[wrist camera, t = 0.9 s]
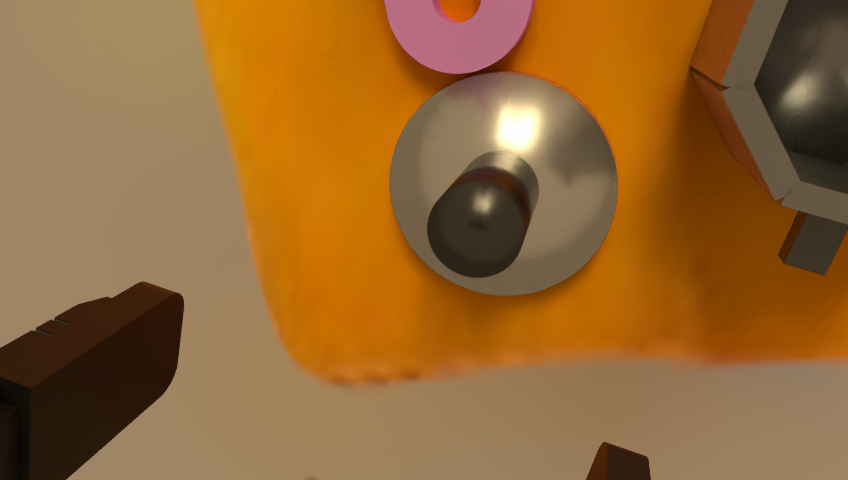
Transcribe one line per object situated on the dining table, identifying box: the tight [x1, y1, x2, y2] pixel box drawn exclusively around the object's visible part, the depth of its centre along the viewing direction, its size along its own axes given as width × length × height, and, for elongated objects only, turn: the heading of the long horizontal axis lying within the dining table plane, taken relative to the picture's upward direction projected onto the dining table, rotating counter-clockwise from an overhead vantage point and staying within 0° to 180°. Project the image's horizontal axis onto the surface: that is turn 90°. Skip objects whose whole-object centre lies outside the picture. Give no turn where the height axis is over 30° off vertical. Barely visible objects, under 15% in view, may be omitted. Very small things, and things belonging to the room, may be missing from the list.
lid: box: [390, 71, 617, 296], centre depth 25 cm, size 9×9×7 cm
